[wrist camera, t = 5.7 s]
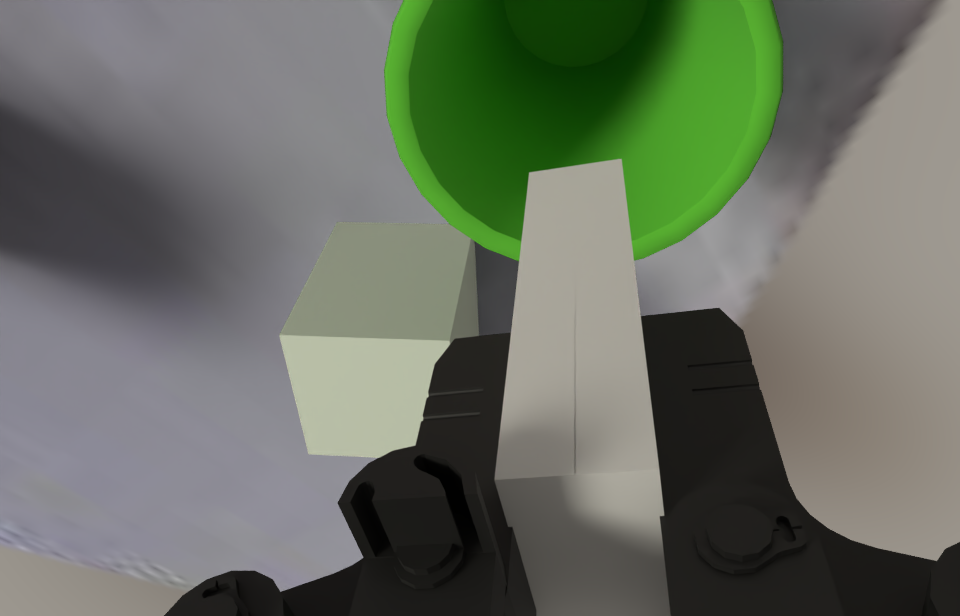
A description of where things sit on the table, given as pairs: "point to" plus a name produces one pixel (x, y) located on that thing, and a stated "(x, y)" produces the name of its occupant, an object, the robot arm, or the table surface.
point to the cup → (582, 105)
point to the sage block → (377, 332)
